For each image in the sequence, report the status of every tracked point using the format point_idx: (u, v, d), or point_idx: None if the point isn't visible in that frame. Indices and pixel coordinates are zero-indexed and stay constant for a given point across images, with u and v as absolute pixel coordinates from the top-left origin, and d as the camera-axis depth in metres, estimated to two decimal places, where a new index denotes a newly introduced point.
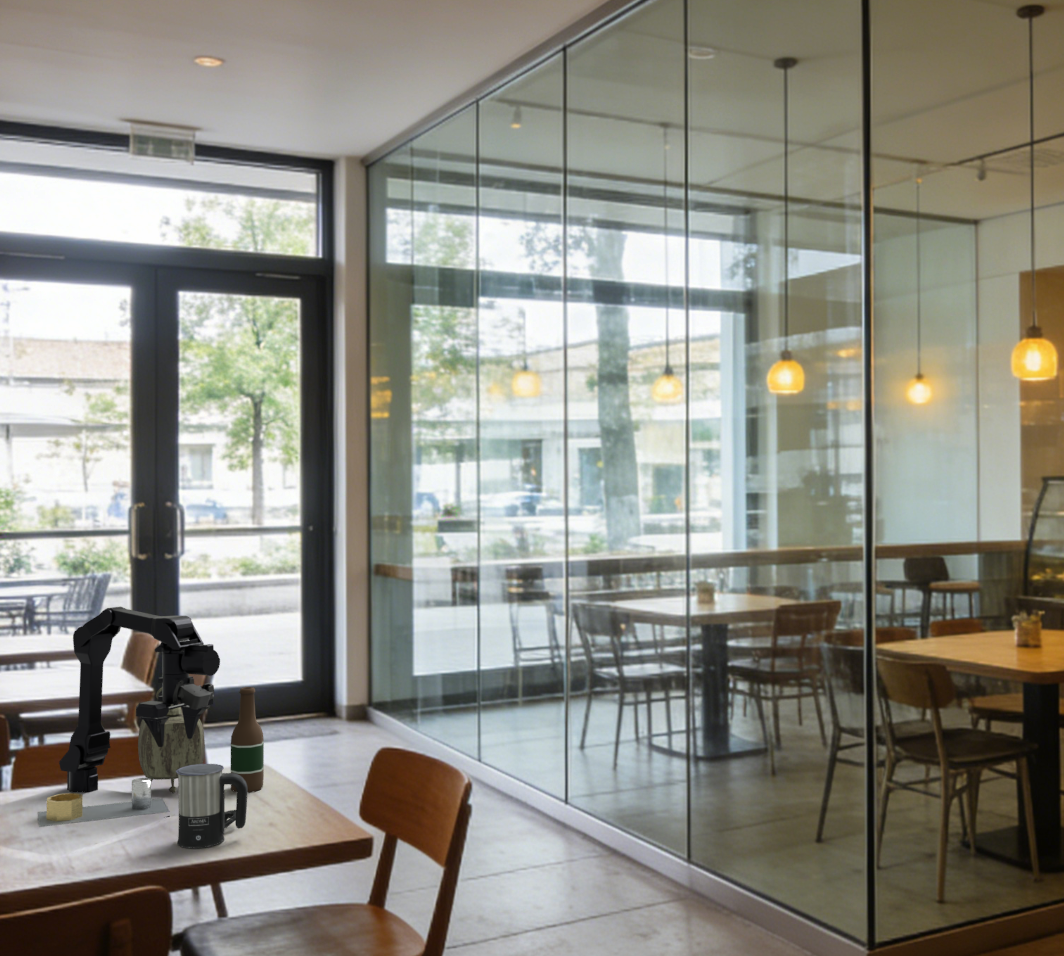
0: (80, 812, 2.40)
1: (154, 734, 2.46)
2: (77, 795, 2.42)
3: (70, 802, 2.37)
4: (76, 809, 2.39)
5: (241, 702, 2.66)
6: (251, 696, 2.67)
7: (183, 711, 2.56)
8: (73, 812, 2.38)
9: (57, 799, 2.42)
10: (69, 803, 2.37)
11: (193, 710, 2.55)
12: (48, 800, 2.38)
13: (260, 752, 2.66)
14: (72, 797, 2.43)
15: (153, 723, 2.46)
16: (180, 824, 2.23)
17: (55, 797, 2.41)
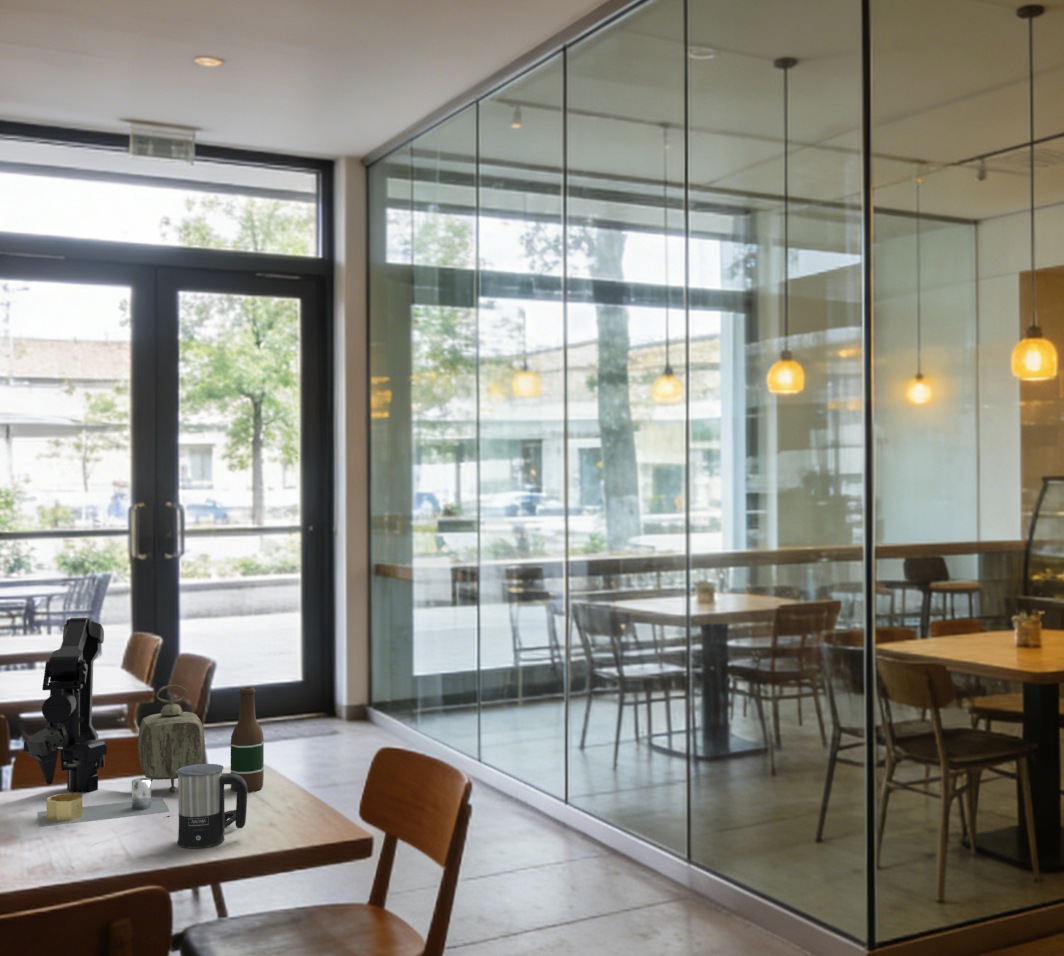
0: (80, 812, 2.40)
1: None
2: (77, 795, 2.42)
3: (70, 802, 2.37)
4: (76, 809, 2.39)
5: (241, 702, 2.66)
6: (251, 696, 2.67)
7: None
8: (73, 812, 2.38)
9: (57, 799, 2.42)
10: (69, 803, 2.37)
11: None
12: (48, 800, 2.38)
13: (260, 752, 2.66)
14: (72, 797, 2.43)
15: None
16: (180, 824, 2.23)
17: (55, 797, 2.41)
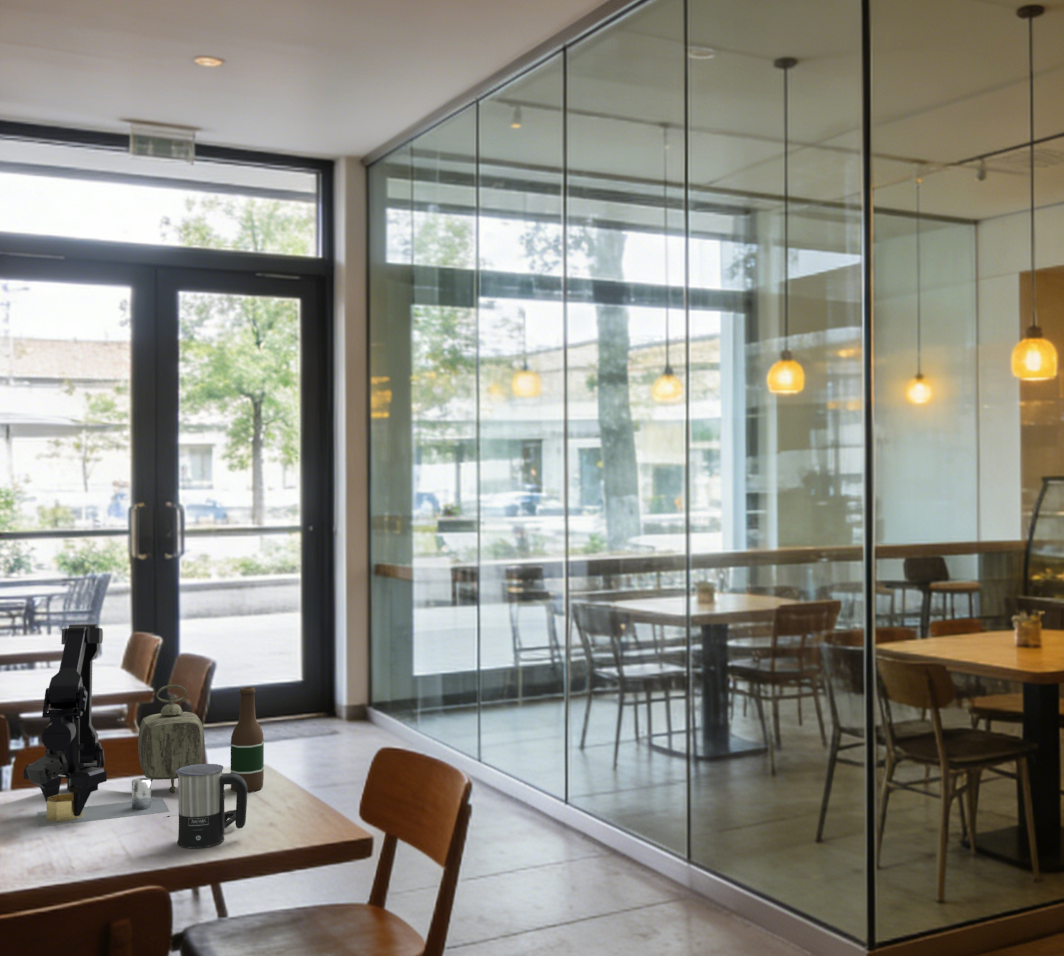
0: None
1: None
2: None
3: (70, 802, 2.37)
4: None
5: (241, 702, 2.66)
6: (251, 696, 2.67)
7: None
8: (73, 812, 2.38)
9: (57, 799, 2.42)
10: (69, 803, 2.37)
11: None
12: (48, 800, 2.38)
13: (260, 752, 2.66)
14: (72, 797, 2.43)
15: None
16: (180, 824, 2.23)
17: (55, 797, 2.41)
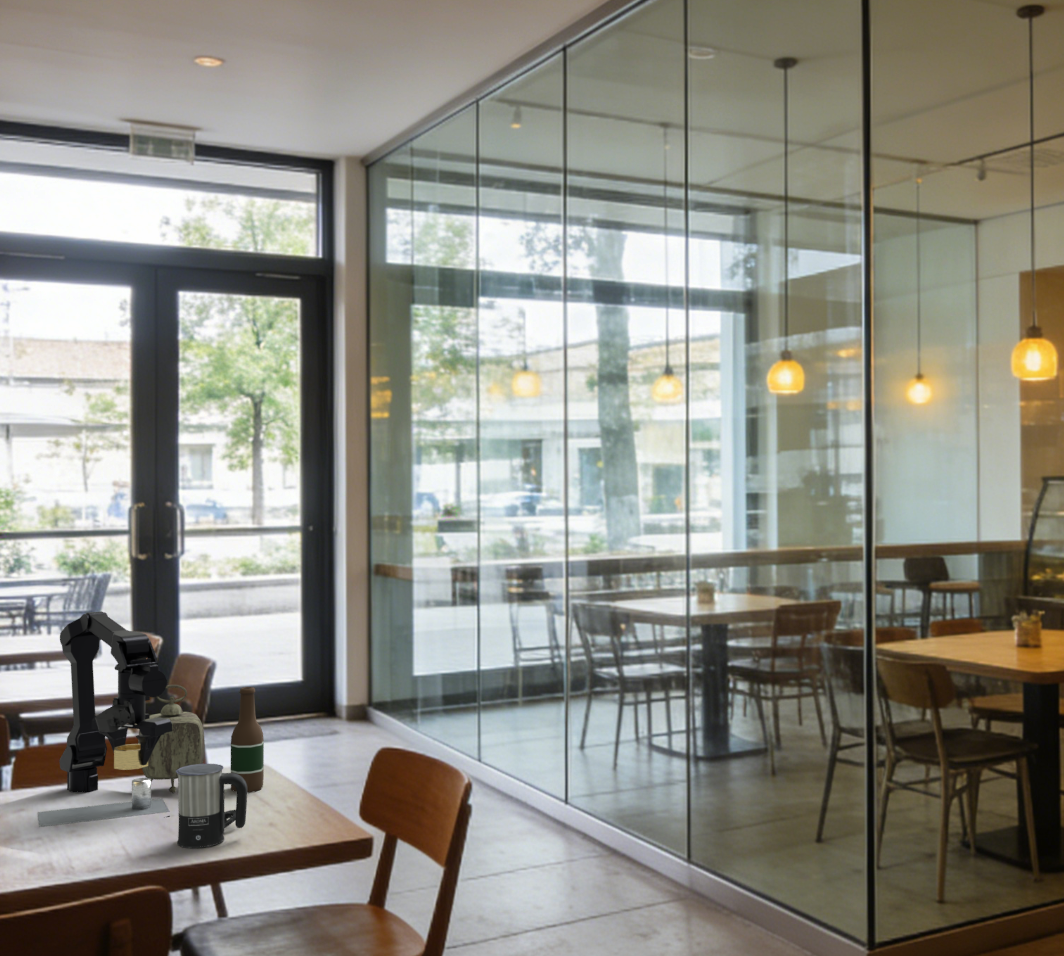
0: None
1: None
2: None
3: (137, 751, 2.43)
4: None
5: (241, 702, 2.66)
6: (251, 696, 2.67)
7: None
8: (140, 761, 2.44)
9: (124, 749, 2.48)
10: (136, 752, 2.43)
11: None
12: (115, 749, 2.44)
13: (260, 752, 2.66)
14: (138, 748, 2.49)
15: None
16: (180, 824, 2.24)
17: (122, 747, 2.47)
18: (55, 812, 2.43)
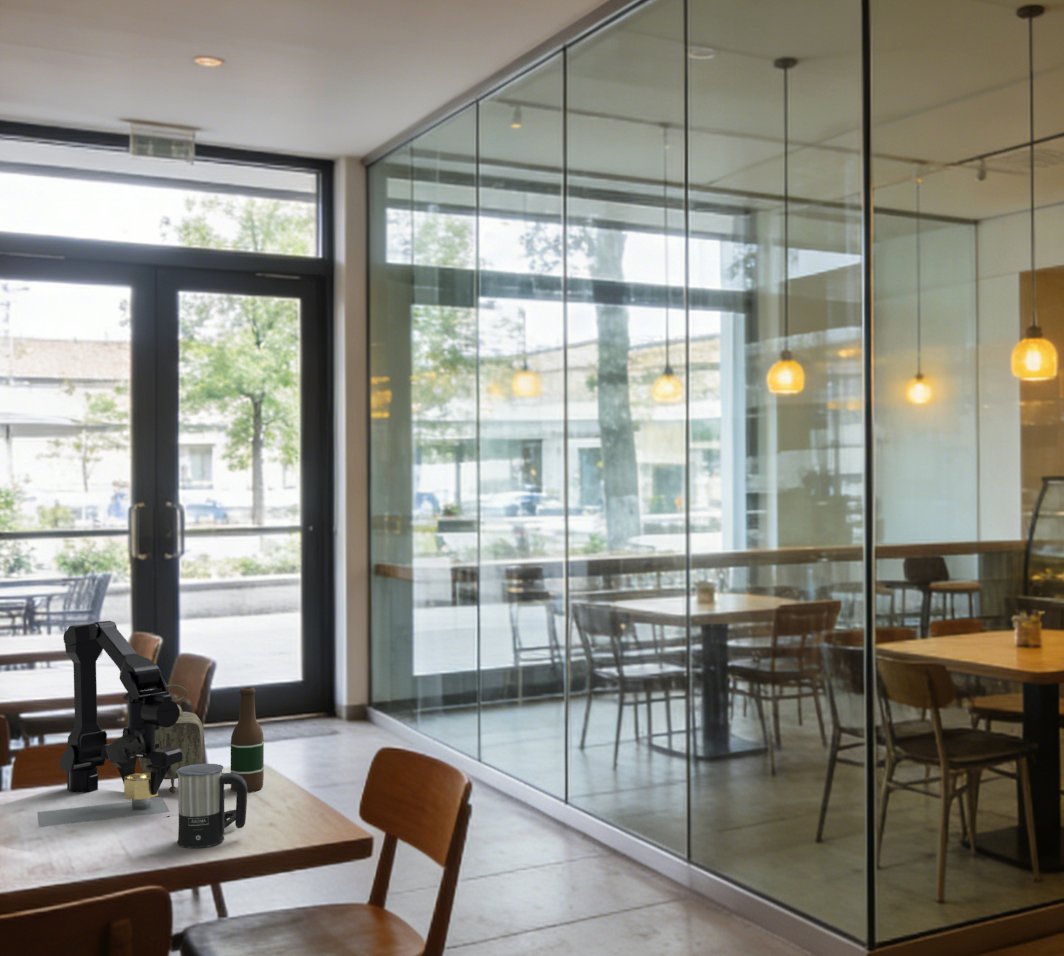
0: None
1: None
2: None
3: (147, 781, 2.44)
4: None
5: (241, 702, 2.66)
6: (251, 696, 2.67)
7: None
8: (150, 791, 2.45)
9: (133, 778, 2.49)
10: (147, 782, 2.44)
11: None
12: (125, 779, 2.45)
13: (260, 752, 2.66)
14: (147, 777, 2.50)
15: None
16: (180, 824, 2.24)
17: (131, 776, 2.48)
18: (55, 812, 2.43)
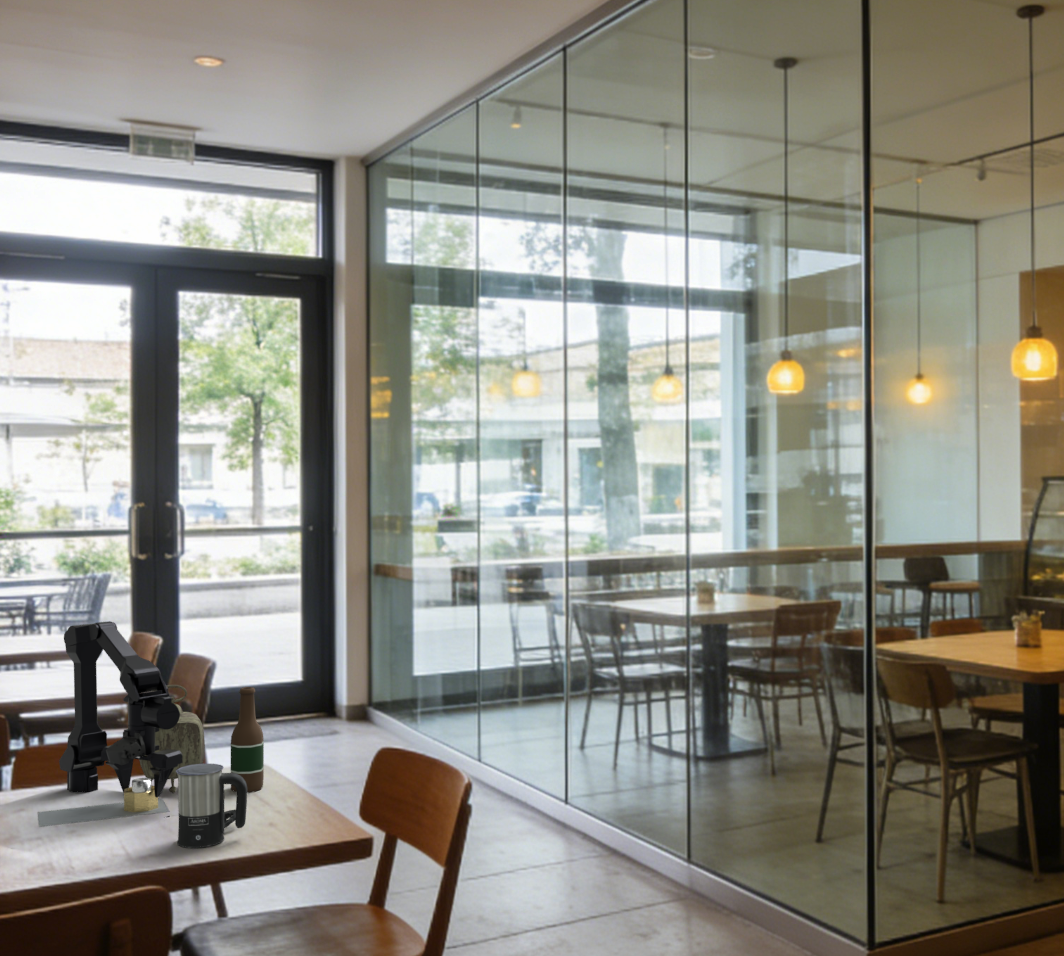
0: (156, 803, 2.46)
1: None
2: (152, 787, 2.49)
3: (147, 793, 2.44)
4: (152, 800, 2.45)
5: (241, 702, 2.66)
6: (251, 696, 2.67)
7: None
8: (150, 804, 2.45)
9: None
10: (147, 795, 2.44)
11: None
12: (125, 792, 2.45)
13: (260, 752, 2.66)
14: None
15: None
16: (180, 824, 2.24)
17: (131, 789, 2.48)
18: (55, 812, 2.43)
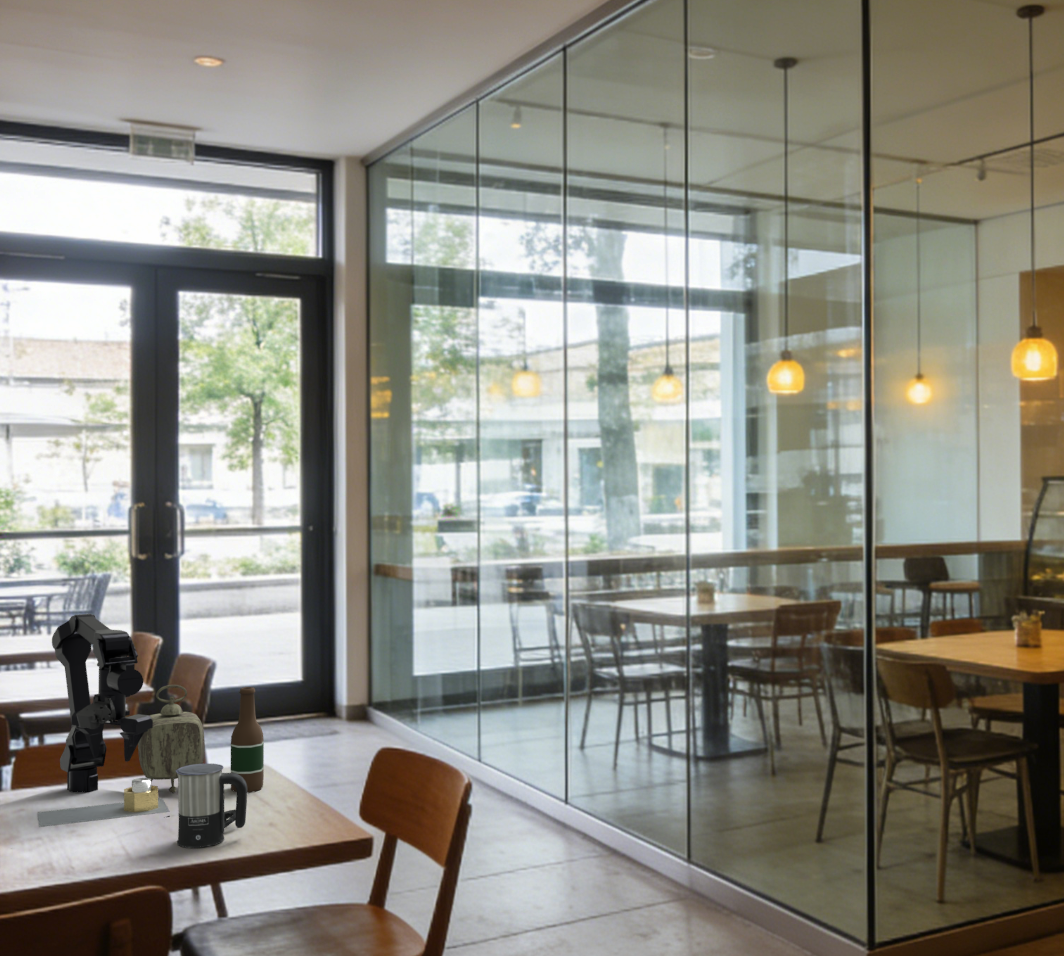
0: (156, 803, 2.46)
1: None
2: (152, 787, 2.49)
3: (147, 793, 2.44)
4: (152, 800, 2.45)
5: (241, 702, 2.66)
6: (251, 696, 2.67)
7: None
8: (150, 804, 2.45)
9: None
10: (147, 795, 2.44)
11: None
12: (125, 792, 2.45)
13: (260, 752, 2.66)
14: None
15: None
16: (180, 824, 2.24)
17: (131, 789, 2.48)
18: (55, 812, 2.43)
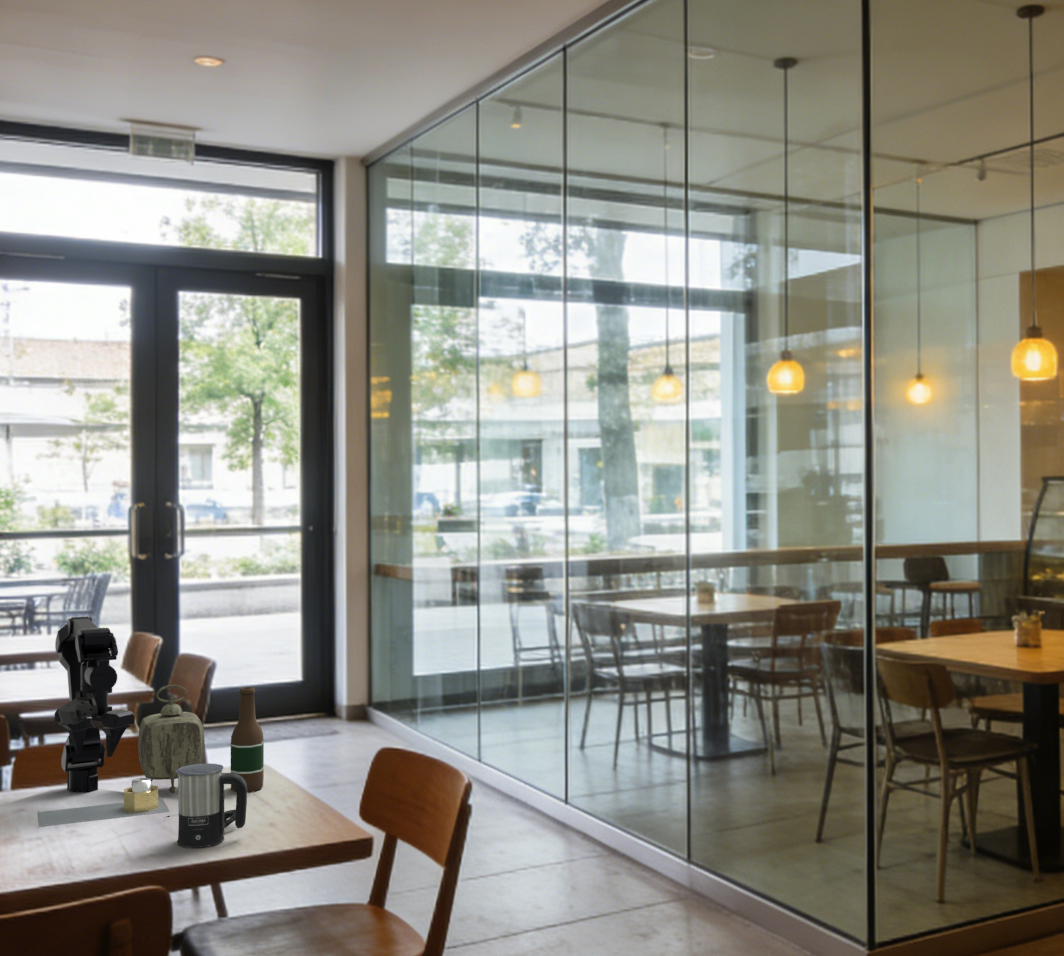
0: (156, 803, 2.46)
1: None
2: (152, 787, 2.49)
3: (147, 793, 2.44)
4: (152, 800, 2.45)
5: (241, 702, 2.66)
6: (251, 696, 2.67)
7: None
8: (150, 804, 2.45)
9: None
10: (147, 795, 2.44)
11: None
12: (125, 792, 2.45)
13: (260, 752, 2.66)
14: None
15: None
16: (180, 824, 2.24)
17: (131, 789, 2.48)
18: (55, 812, 2.43)
